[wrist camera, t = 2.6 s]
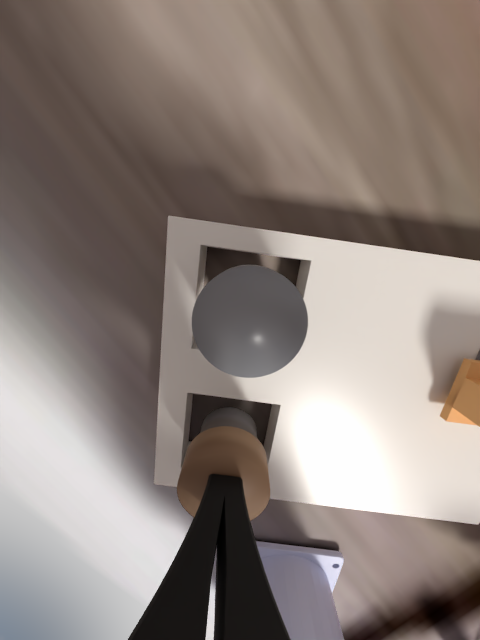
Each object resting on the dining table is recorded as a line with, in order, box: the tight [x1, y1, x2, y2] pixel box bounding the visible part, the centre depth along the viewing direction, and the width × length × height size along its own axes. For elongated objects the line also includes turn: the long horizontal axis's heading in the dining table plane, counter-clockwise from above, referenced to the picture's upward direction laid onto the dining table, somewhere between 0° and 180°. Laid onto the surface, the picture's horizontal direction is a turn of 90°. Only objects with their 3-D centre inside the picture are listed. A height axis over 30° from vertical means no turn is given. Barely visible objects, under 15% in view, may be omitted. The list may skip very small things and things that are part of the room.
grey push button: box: [192, 264, 308, 378], centre depth 10 cm, size 4×4×4 cm
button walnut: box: [177, 407, 270, 521], centre depth 12 cm, size 4×4×4 cm
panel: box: [154, 215, 480, 525], centre depth 13 cm, size 15×20×2 cm
